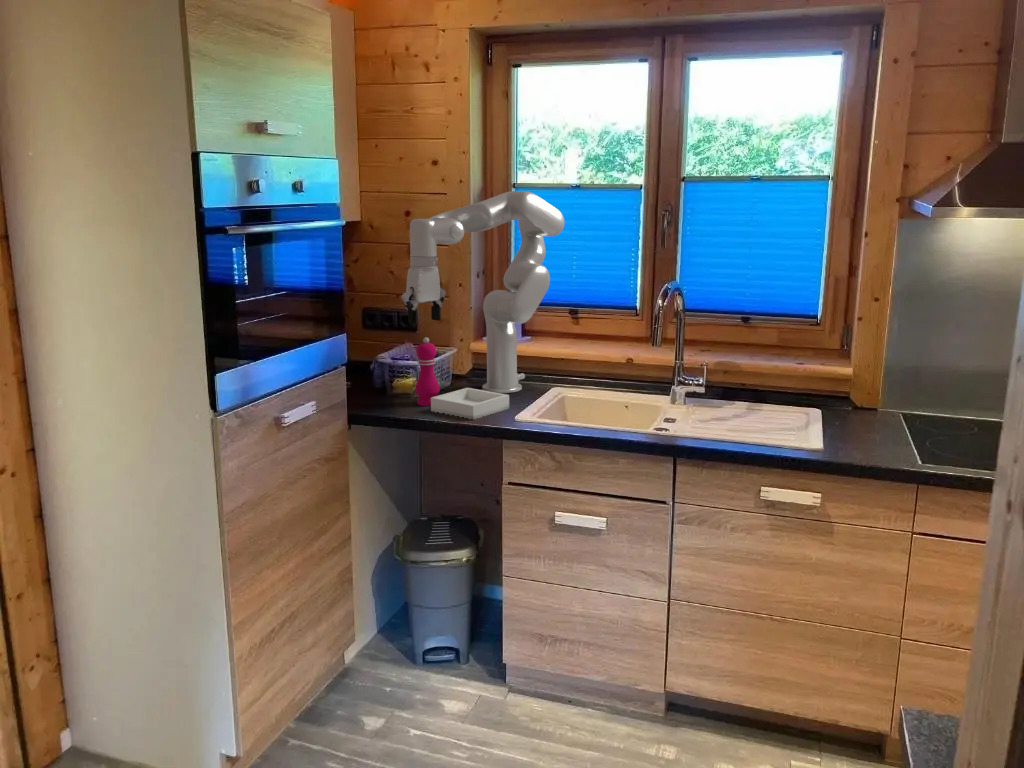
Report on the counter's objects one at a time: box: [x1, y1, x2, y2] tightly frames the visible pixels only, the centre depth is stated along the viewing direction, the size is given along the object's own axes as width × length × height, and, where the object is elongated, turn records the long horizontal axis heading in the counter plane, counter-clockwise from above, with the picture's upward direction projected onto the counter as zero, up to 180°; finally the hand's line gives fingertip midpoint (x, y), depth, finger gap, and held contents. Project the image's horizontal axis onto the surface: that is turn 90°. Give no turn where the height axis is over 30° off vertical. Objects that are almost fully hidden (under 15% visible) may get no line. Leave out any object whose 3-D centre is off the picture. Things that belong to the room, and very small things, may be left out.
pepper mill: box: [414, 337, 441, 407], centre depth 246 cm, size 7×7×20 cm
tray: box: [430, 387, 510, 421], centre depth 241 cm, size 16×16×4 cm
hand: (424, 321), depth 243 cm, fingers open, 9 cm apart
